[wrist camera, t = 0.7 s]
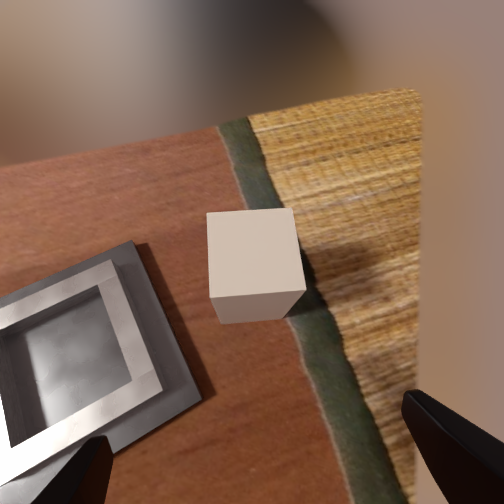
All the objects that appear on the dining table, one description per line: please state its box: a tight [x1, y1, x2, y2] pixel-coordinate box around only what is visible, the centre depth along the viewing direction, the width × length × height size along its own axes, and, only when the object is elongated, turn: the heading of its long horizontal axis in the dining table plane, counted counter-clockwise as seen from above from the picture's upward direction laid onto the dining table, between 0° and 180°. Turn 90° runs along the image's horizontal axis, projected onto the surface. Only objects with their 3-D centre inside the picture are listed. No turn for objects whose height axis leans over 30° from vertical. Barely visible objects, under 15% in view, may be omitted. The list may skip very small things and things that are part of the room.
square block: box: [207, 208, 306, 324], centre depth 19 cm, size 5×5×9 cm
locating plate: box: [0, 240, 203, 504], centre depth 19 cm, size 14×14×2 cm
